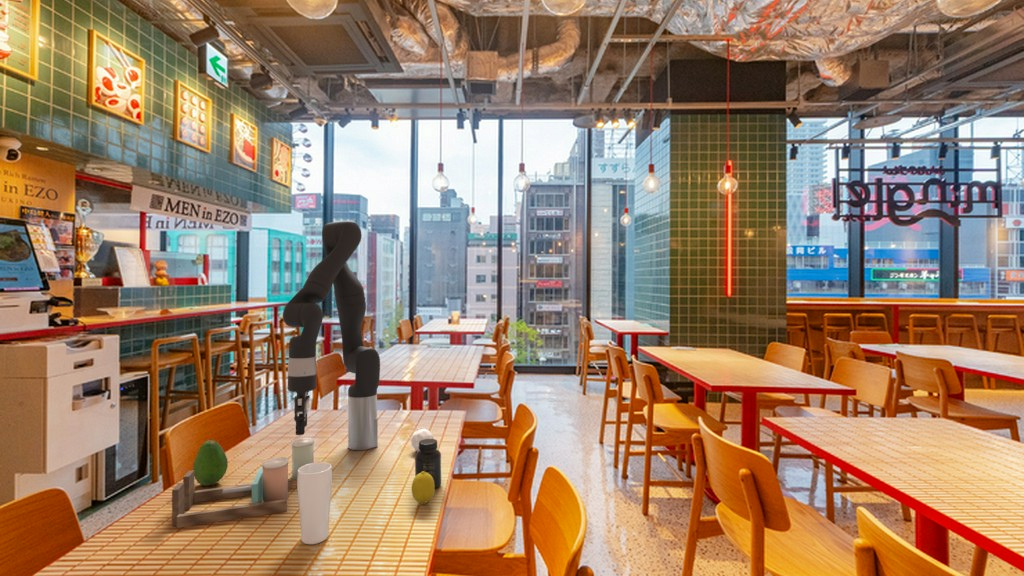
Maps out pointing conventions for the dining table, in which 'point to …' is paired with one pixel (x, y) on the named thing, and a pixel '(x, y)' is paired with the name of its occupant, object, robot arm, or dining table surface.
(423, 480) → the lemon
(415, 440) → the ornament
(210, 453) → the fruit
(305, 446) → the sage jar
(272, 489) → the jar
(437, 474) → the supplement bottle
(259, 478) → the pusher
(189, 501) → the lane
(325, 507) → the drinking glass
